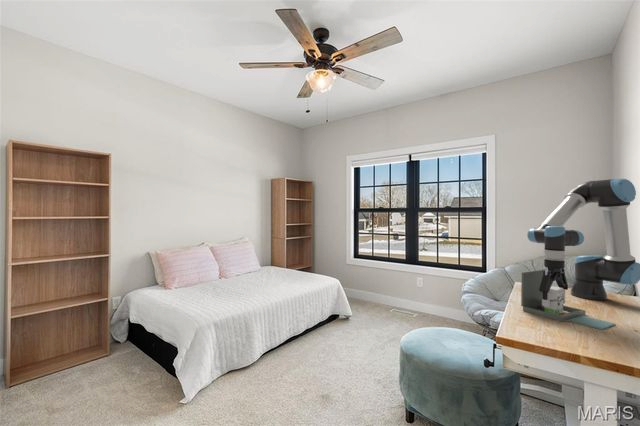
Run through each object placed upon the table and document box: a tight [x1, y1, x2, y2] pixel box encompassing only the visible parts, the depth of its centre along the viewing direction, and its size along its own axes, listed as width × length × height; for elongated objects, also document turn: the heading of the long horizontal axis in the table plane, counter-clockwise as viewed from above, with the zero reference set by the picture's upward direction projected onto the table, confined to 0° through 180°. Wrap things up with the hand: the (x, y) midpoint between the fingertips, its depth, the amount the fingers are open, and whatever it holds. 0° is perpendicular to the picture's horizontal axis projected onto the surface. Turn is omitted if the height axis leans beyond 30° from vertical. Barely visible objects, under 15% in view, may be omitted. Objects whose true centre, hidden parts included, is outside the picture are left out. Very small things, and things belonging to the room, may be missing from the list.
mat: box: [568, 315, 616, 331], centre depth 126 cm, size 12×11×1 cm
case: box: [520, 268, 586, 323], centre depth 138 cm, size 20×17×18 cm
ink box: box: [543, 285, 564, 315], centre depth 138 cm, size 9×5×12 cm, turn 124°
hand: (553, 304), depth 138 cm, fingers open, 13 cm apart
